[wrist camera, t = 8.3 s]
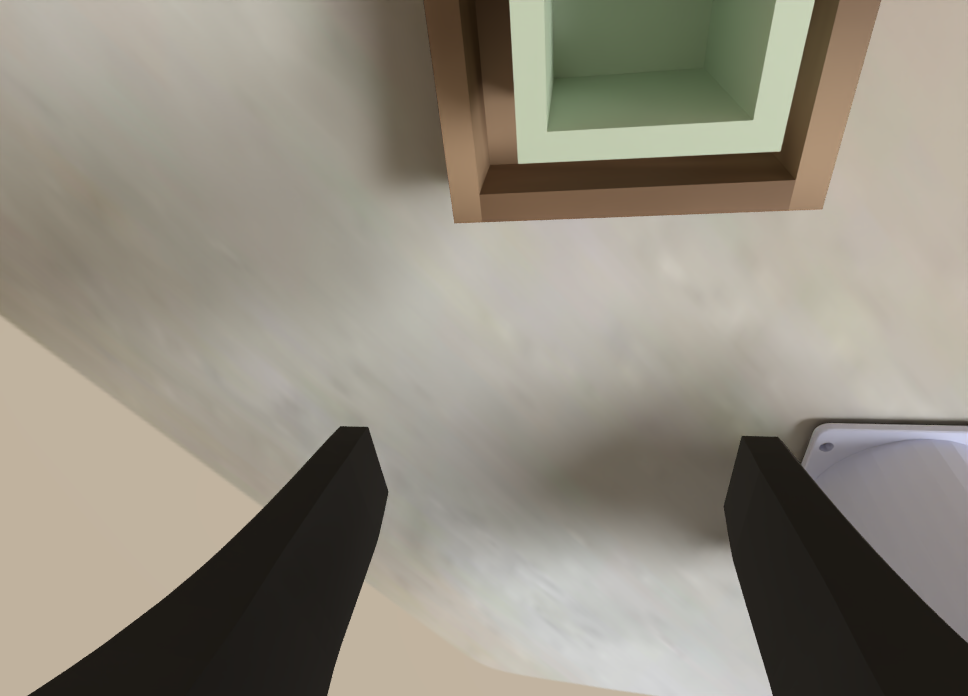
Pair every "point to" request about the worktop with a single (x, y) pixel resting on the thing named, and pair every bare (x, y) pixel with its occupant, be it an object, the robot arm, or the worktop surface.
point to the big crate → (637, 181)
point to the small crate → (653, 76)
